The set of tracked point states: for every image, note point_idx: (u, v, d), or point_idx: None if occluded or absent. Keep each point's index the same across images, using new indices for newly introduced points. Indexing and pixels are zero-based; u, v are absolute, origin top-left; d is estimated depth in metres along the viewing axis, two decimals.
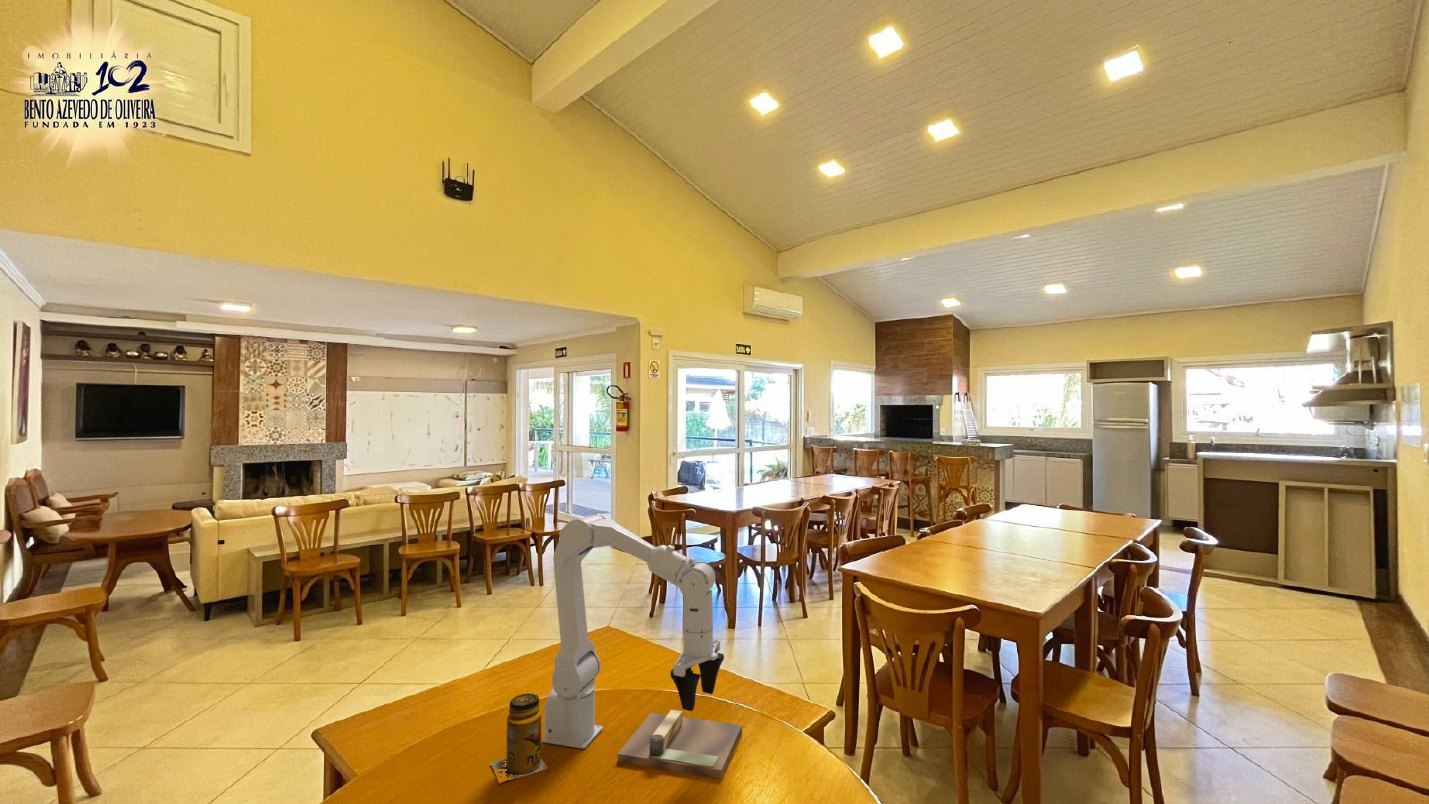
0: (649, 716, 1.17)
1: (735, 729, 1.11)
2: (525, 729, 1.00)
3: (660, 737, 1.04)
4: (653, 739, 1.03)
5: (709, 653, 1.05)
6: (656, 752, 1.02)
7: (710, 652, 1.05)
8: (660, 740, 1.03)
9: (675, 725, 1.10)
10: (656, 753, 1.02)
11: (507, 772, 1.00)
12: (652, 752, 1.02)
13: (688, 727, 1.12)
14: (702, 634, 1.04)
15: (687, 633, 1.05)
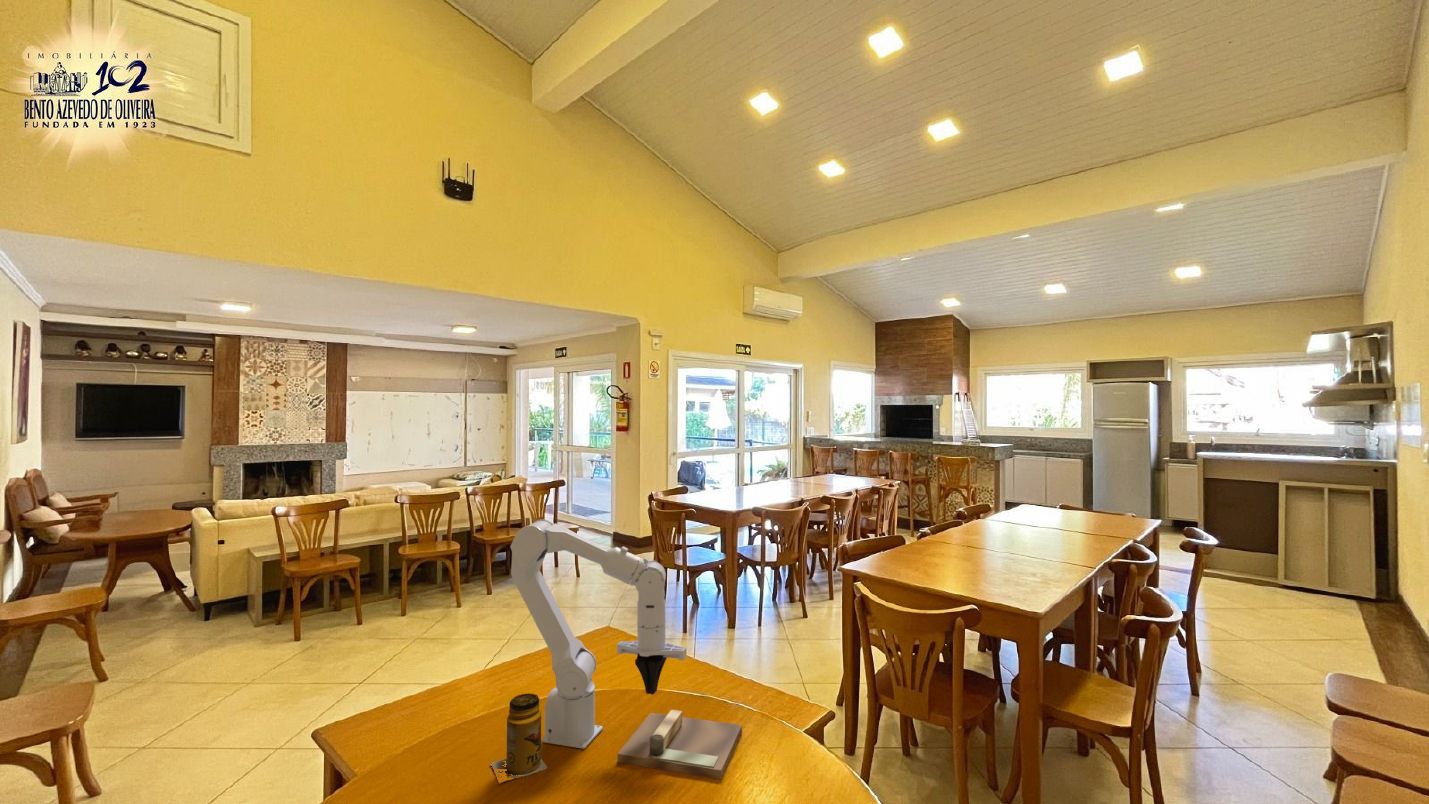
0: (649, 716, 1.17)
1: (735, 729, 1.11)
2: (525, 729, 1.00)
3: (660, 737, 1.04)
4: (653, 739, 1.03)
5: (643, 649, 1.11)
6: (656, 752, 1.02)
7: (645, 648, 1.11)
8: (660, 740, 1.03)
9: (675, 725, 1.10)
10: (656, 753, 1.02)
11: (507, 772, 1.00)
12: (652, 752, 1.02)
13: (688, 727, 1.12)
14: (638, 627, 1.12)
15: None
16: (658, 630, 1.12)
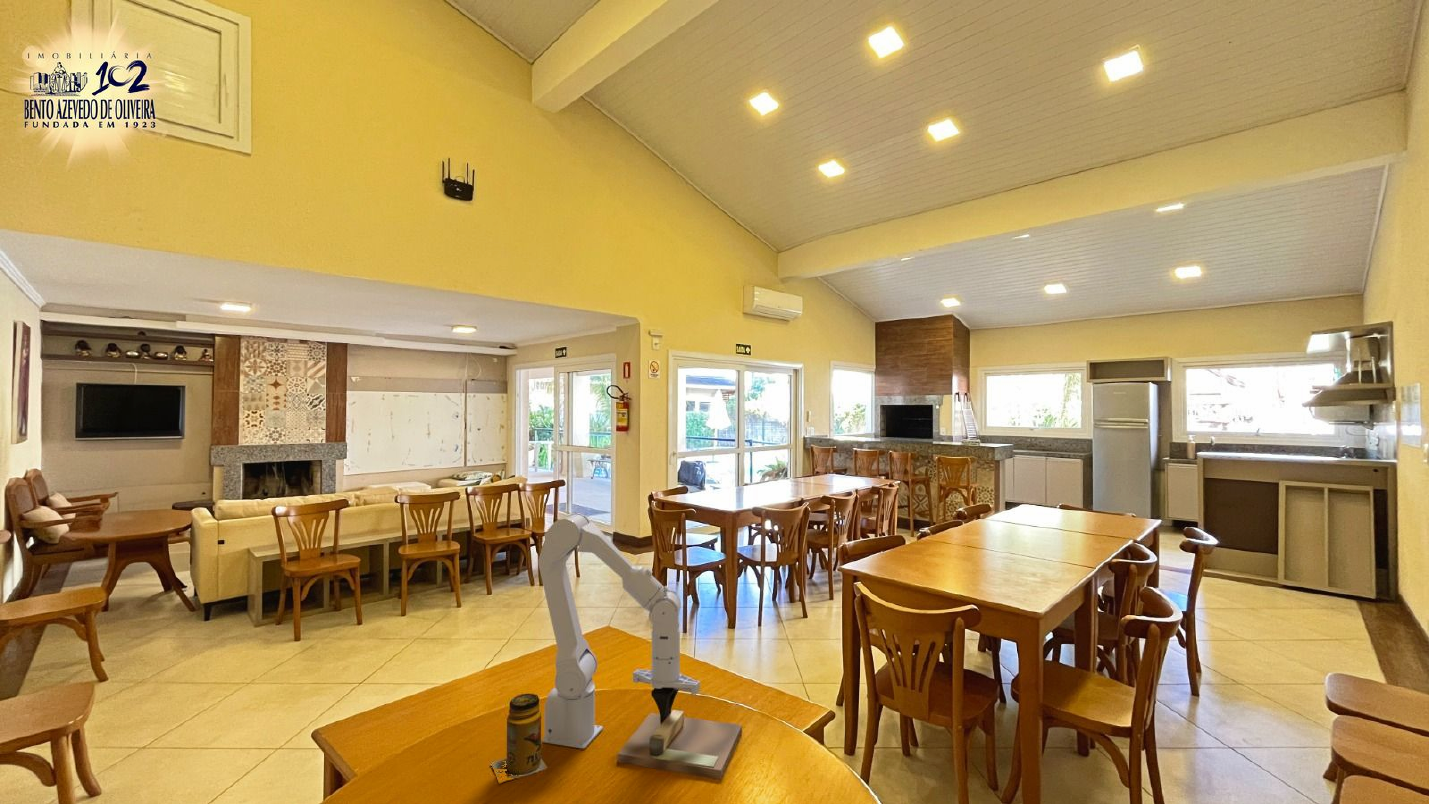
0: (649, 716, 1.17)
1: (735, 729, 1.11)
2: (525, 729, 1.00)
3: (660, 737, 1.04)
4: (653, 739, 1.03)
5: (656, 680, 1.10)
6: (656, 752, 1.02)
7: (657, 680, 1.10)
8: (660, 740, 1.03)
9: (676, 725, 1.09)
10: (656, 753, 1.02)
11: (507, 772, 1.00)
12: (652, 752, 1.02)
13: (688, 727, 1.12)
14: (652, 658, 1.11)
15: None
16: (671, 662, 1.10)
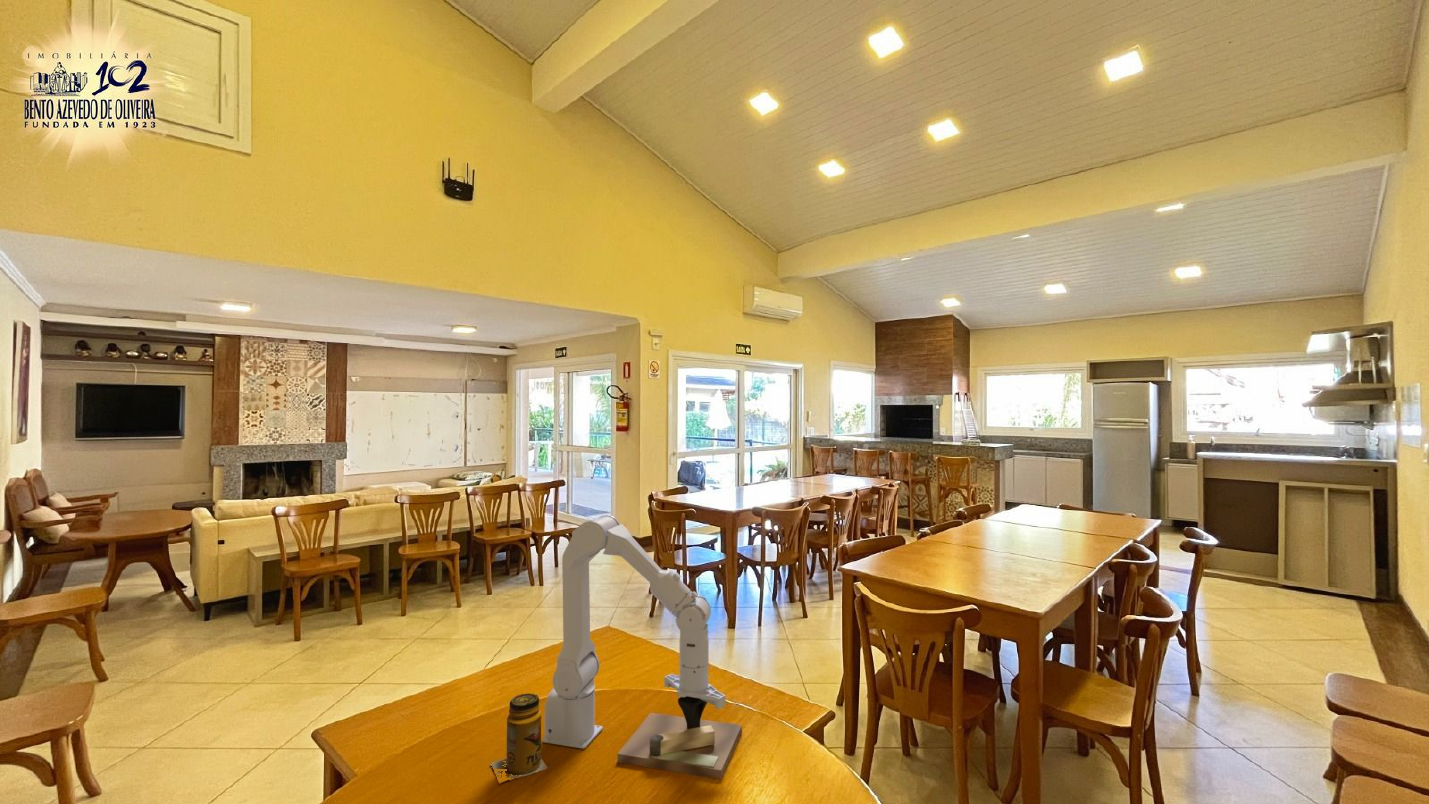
0: (649, 716, 1.17)
1: (735, 729, 1.11)
2: (525, 729, 1.00)
3: (659, 739, 1.03)
4: (653, 737, 1.03)
5: (682, 688, 1.07)
6: (650, 751, 1.02)
7: (683, 688, 1.06)
8: (655, 741, 1.02)
9: (694, 739, 1.04)
10: (650, 751, 1.02)
11: (507, 772, 1.00)
12: None
13: None
14: (679, 664, 1.08)
15: None
16: (696, 671, 1.06)
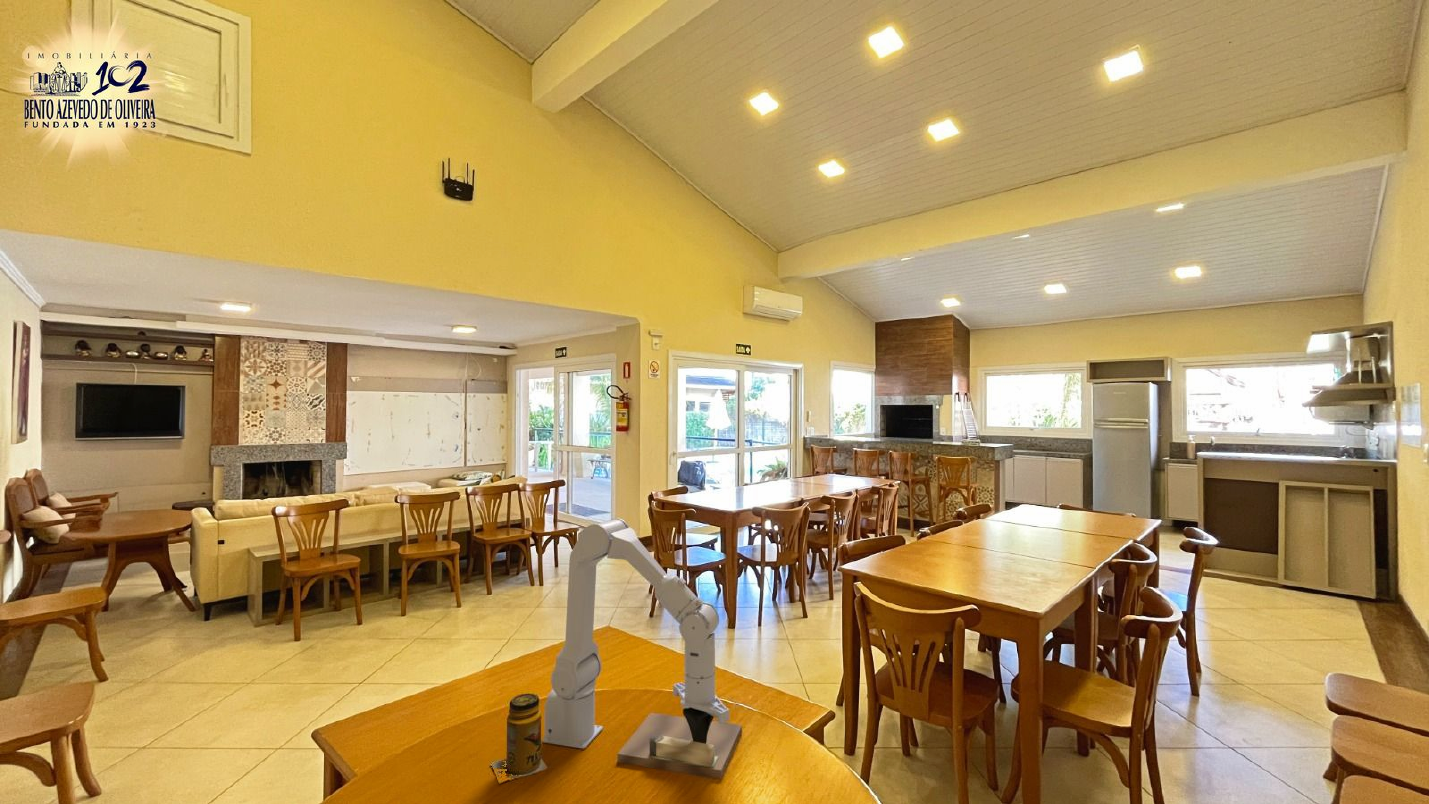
0: (649, 716, 1.17)
1: (735, 729, 1.11)
2: (525, 729, 1.00)
3: (657, 740, 1.03)
4: (655, 736, 1.04)
5: (686, 698, 1.02)
6: None
7: (687, 698, 1.02)
8: (652, 740, 1.02)
9: (688, 753, 1.00)
10: None
11: (507, 772, 1.00)
12: None
13: (688, 727, 1.12)
14: None
15: None
16: (700, 682, 1.01)
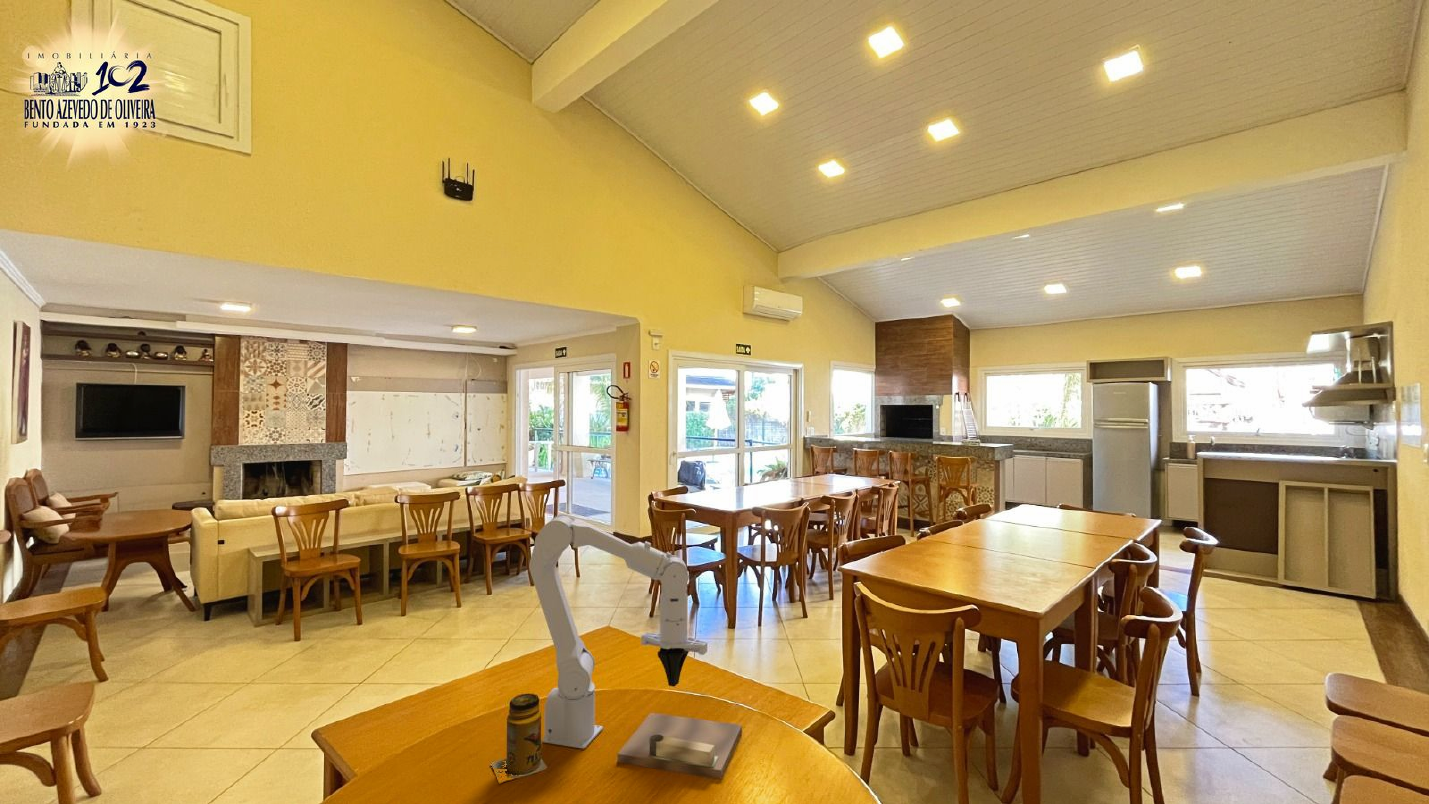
0: (649, 716, 1.17)
1: (735, 729, 1.11)
2: (525, 729, 1.00)
3: (657, 740, 1.03)
4: (655, 736, 1.04)
5: (665, 641, 1.13)
6: None
7: (666, 641, 1.13)
8: (652, 740, 1.02)
9: (688, 753, 1.00)
10: None
11: (507, 772, 1.00)
12: None
13: (688, 727, 1.12)
14: (660, 620, 1.15)
15: None
16: (679, 624, 1.13)
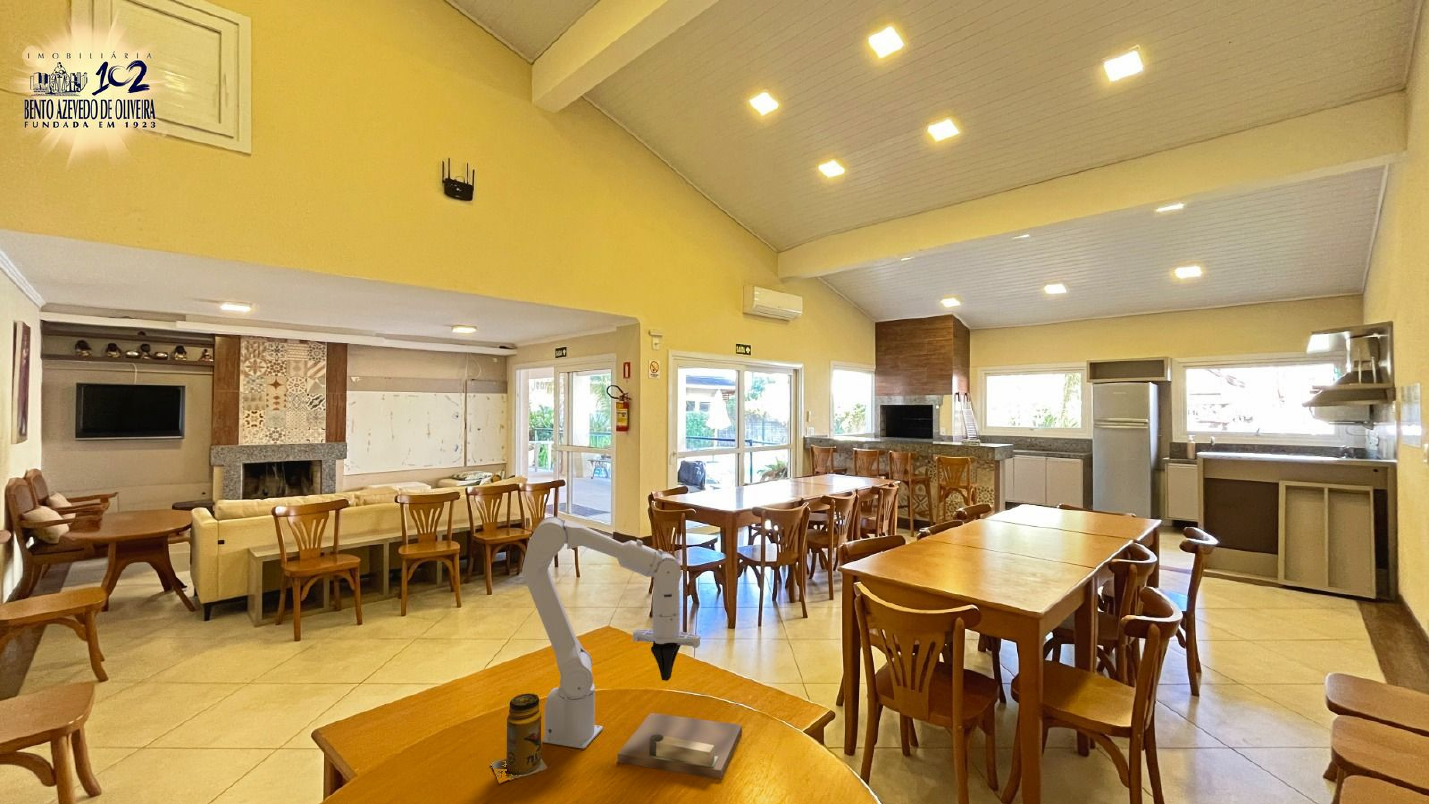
0: (649, 716, 1.17)
1: (735, 729, 1.11)
2: (525, 729, 1.00)
3: (657, 740, 1.03)
4: (655, 736, 1.04)
5: (658, 636, 1.15)
6: None
7: (660, 636, 1.15)
8: (652, 740, 1.02)
9: (688, 753, 1.00)
10: None
11: (507, 772, 1.00)
12: None
13: (688, 727, 1.12)
14: (653, 616, 1.16)
15: None
16: (673, 618, 1.15)
